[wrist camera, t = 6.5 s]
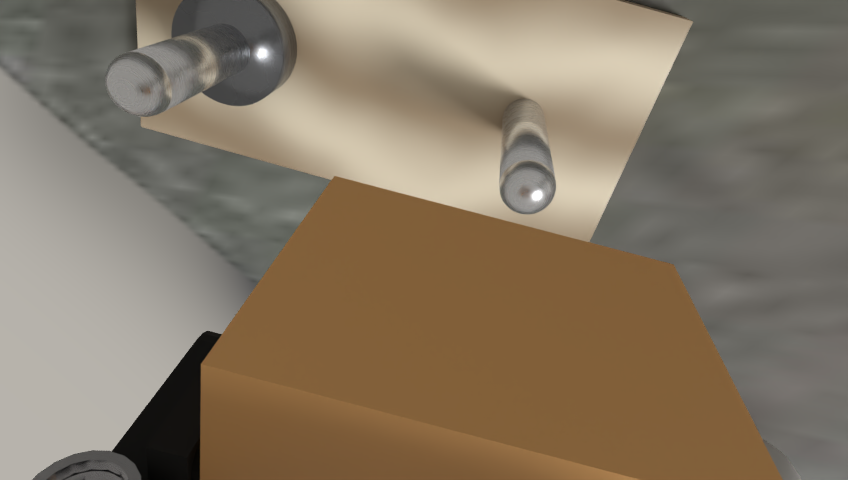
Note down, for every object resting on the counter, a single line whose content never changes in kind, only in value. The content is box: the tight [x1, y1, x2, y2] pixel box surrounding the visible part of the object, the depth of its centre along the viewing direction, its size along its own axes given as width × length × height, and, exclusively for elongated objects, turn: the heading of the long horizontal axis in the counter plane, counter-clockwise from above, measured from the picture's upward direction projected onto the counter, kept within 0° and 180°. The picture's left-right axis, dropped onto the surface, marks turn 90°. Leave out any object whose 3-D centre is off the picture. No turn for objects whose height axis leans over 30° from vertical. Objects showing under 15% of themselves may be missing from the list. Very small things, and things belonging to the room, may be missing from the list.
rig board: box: [136, 0, 693, 242], centre depth 27 cm, size 12×25×2 cm, turn 77°
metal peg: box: [105, 0, 297, 117], centre depth 22 cm, size 5×5×10 cm
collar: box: [200, 176, 783, 480], centre depth 9 cm, size 6×6×5 cm
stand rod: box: [499, 99, 556, 215], centre depth 22 cm, size 2×2×9 cm
